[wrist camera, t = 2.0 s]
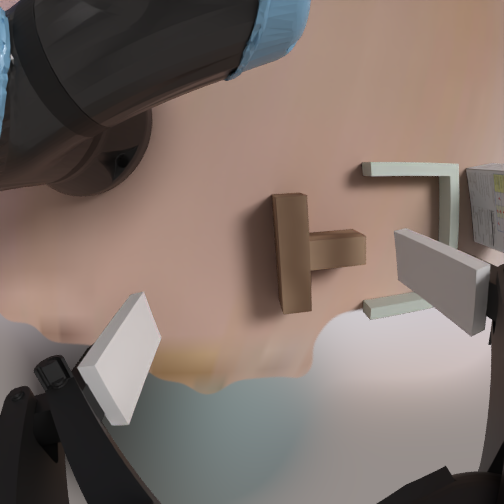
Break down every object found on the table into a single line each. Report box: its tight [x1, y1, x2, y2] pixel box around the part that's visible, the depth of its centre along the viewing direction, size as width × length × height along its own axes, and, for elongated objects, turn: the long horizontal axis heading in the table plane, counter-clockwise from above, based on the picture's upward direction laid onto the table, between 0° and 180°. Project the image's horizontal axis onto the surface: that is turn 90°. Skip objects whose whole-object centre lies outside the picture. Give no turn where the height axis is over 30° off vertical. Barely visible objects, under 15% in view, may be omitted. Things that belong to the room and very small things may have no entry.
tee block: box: [272, 193, 366, 314], centre depth 33 cm, size 9×12×4 cm
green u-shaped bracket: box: [362, 162, 459, 320], centre depth 34 cm, size 12×18×2 cm
